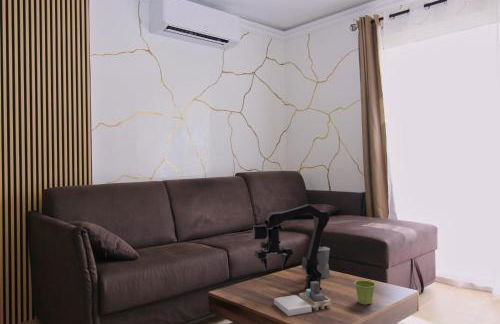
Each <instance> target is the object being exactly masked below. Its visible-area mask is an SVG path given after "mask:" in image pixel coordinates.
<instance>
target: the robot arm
mask: <svg viewBox="0 0 500 324" xmlns="http://www.w3.org/2000/svg"><path fill="white" fill-rule="evenodd" d="M306 214H309V215H311V216H312V217H313V231H312V235H311V241H310V245H309V248H308V251H307V254H306V256H302V259H301V264H300V265H301V269H302V271H304V272H305V274H306V276H305V277H306V279H305V286H304V288H306V289H310V282H313V281H317V282H319V286H320V290H323V288H322V287H321V279H322V278H321V275H322V274H321V273H320V272H319V271H318V270H317V254H318V250H319V247H321V245H320V244H321V241H322V236H323V232H324V230H325V228H326V227H327V225H328V224H329V220H330V215H329V213H328V212H326V211H323V210H319V209H317V208H315V207H314V206H312V205H311V204H308V203H306V204H303V205H300V206H296V207H295V208H291V209H287V210H285V211H273V212H269V213H267V214H266V219H265V220H264V222H263V223H262V225H253V228H252V231H251V233H252V235H251V237H252V240H254V241H256V240H265V239H266V238H267V239H266V242H265V241H260V243H259V246H260V249H259V250H255V251H254V255H253V256H254V257H255V258H257V259H258V260H260V261H261V264H262V267H263V269H264V272H267V269H268V265H267V264H268V263H267V262H268V261H267V259H268V258H266V257H267V256H273V255H274V256H275V255H280V256H281V270H284V269H285V267H286V264H287V262H288V260H289V259H290V258H291V257H292V256H293V255H294V250H293V248H291V247H289V246H284V247H281V249H280V245H281V240H280V230H284V227H283V226H282V225H281V224H282V223H284V222H285V221H287V220H289V219H293V218H295V217H299V216H302V215H306Z"/></svg>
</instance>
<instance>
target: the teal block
mask: <svg viewBox="0 0 500 324" xmlns="http://www.w3.org/2000/svg"><path fill="white" fill-rule="evenodd" d="M305 292H306V296H307V297H308V298H311V292H310V289H307V288H306V289H305Z"/></svg>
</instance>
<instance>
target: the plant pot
mask: <svg viewBox="0 0 500 324" xmlns="http://www.w3.org/2000/svg"><path fill="white" fill-rule="evenodd" d="M354 286H355V288H356V297H357V302H358V303H359V304H360V305H372V304H373V300H374V299H373V297H374V290H375V287H376V286H377V285H376V283H375V282H374V281H372V280H365V279H361V280H355V281H354Z"/></svg>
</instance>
